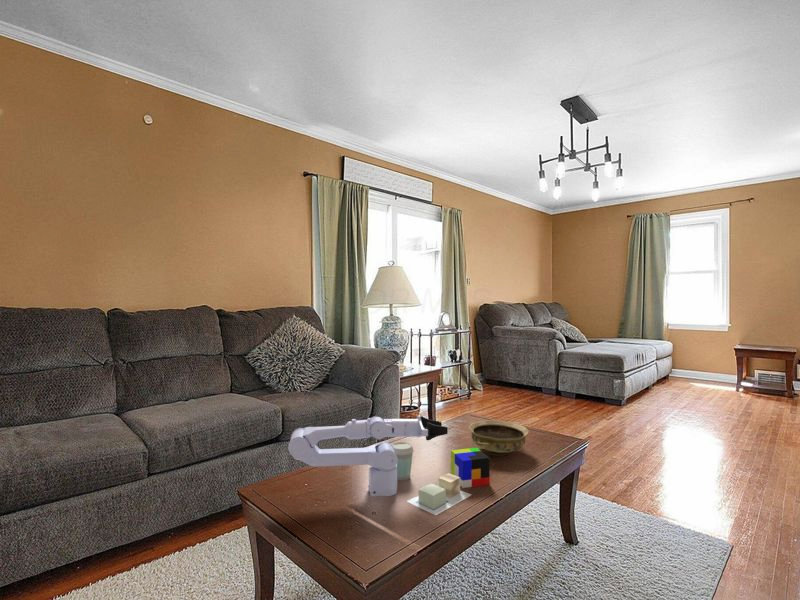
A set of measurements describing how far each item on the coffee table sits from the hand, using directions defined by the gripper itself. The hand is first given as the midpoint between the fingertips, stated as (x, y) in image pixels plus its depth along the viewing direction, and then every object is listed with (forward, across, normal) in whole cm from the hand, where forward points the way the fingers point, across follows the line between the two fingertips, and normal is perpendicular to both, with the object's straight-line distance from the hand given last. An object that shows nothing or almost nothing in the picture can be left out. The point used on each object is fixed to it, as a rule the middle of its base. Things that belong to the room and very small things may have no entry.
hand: (444, 427), depth 144 cm
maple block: (+2, -3, +20) cm, 20 cm away
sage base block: (-6, -8, +21) cm, 23 cm away
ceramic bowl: (+32, +30, +17) cm, 47 cm away
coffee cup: (-12, +12, +21) cm, 27 cm away
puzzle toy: (+11, +5, +20) cm, 24 cm away
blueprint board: (-2, -6, +21) cm, 22 cm away
